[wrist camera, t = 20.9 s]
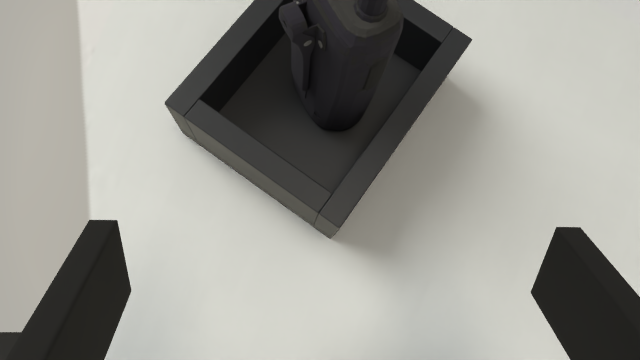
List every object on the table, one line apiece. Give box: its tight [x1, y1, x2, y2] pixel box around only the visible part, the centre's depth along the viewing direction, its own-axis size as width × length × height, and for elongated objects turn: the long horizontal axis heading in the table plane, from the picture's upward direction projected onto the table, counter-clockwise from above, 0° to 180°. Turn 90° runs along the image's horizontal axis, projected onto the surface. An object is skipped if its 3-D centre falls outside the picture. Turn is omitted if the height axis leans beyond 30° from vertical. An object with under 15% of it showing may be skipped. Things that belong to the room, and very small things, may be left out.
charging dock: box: [165, 0, 472, 239], centre depth 26 cm, size 10×12×4 cm
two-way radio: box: [279, 0, 404, 131], centre depth 20 cm, size 6×4×15 cm
